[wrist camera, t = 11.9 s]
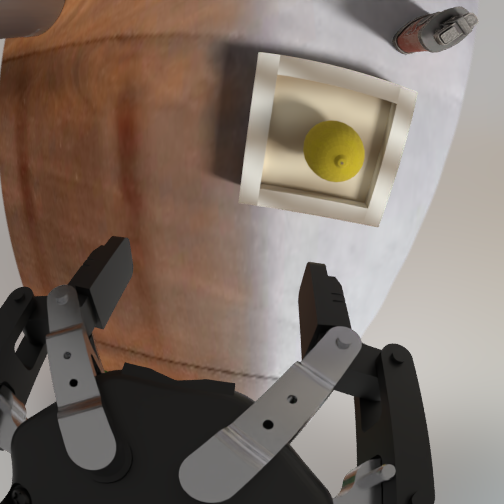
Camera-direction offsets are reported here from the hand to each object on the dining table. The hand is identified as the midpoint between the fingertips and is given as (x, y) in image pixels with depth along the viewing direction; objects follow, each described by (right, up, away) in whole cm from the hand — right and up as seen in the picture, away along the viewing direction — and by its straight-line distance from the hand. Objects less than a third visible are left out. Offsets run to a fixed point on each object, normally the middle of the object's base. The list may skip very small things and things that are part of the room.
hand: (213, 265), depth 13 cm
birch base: (+10, +14, +18) cm, 25 cm away
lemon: (+9, +12, +15) cm, 22 cm away
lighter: (+21, +26, +9) cm, 34 cm away
